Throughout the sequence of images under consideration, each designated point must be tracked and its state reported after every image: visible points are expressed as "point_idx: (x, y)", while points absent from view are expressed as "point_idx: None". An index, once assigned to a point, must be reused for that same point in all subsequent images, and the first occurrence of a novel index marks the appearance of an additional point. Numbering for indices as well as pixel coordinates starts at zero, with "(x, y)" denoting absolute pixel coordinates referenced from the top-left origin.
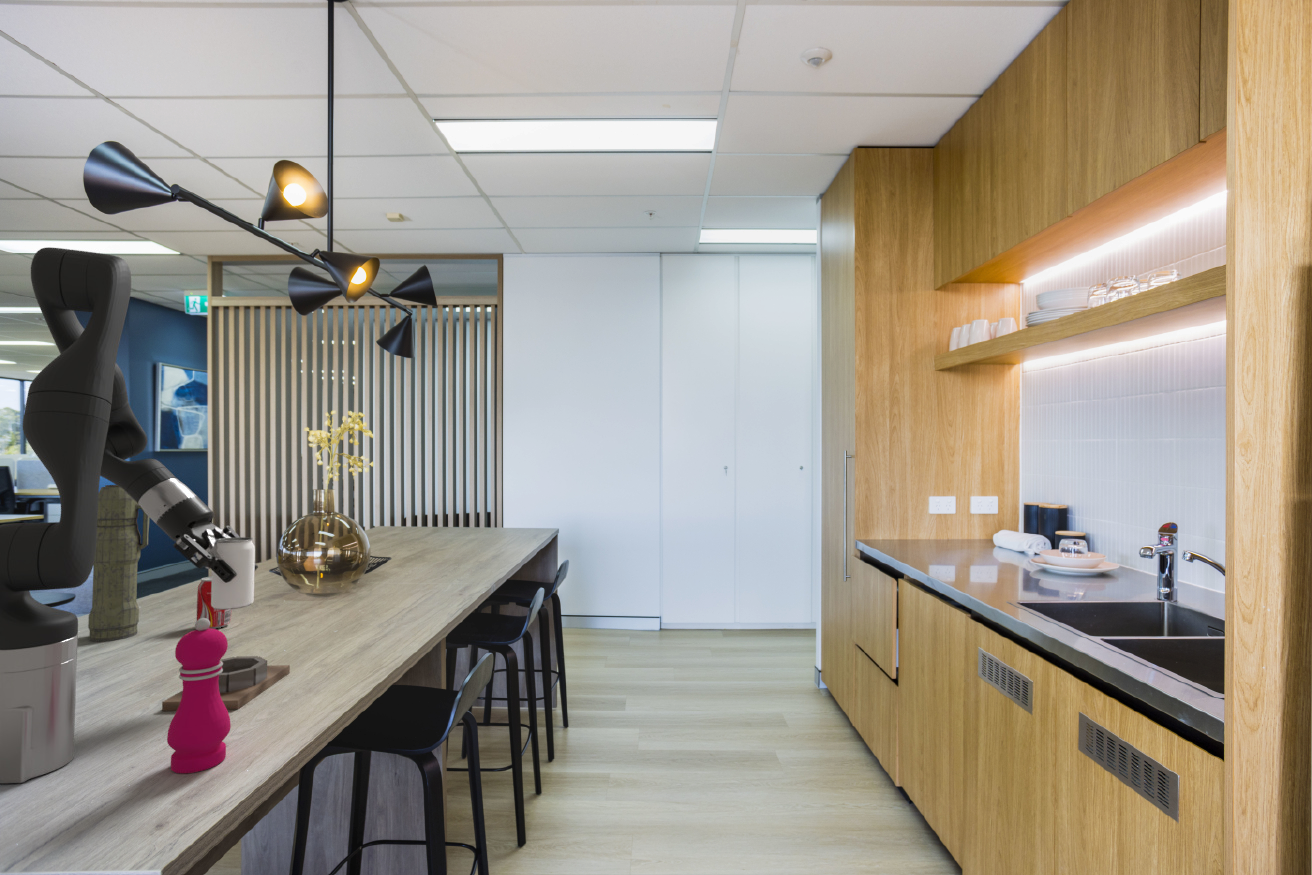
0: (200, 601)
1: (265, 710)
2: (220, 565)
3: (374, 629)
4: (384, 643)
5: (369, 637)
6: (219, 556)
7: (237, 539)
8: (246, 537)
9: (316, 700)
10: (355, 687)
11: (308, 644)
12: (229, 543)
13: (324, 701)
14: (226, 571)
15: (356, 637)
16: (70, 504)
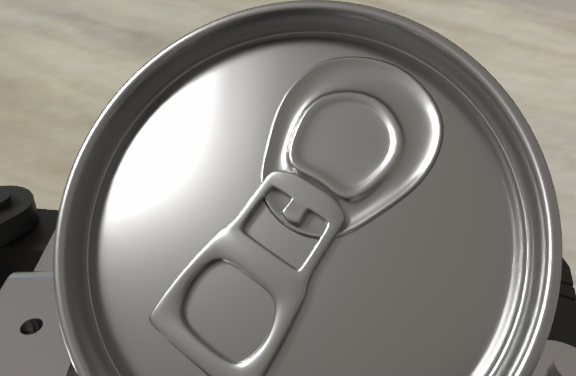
0: None
1: (555, 180)
2: (567, 329)
3: (11, 46)
4: (133, 9)
5: (70, 47)
6: (560, 358)
7: (87, 228)
8: (105, 110)
9: (513, 83)
10: (444, 18)
11: (62, 172)
12: (543, 242)
13: (526, 65)
14: (561, 273)
15: (56, 74)
16: None
